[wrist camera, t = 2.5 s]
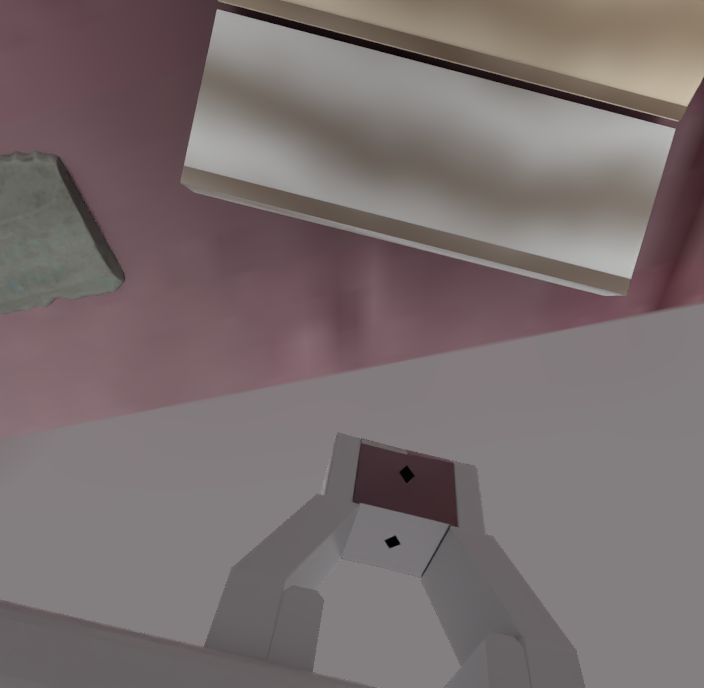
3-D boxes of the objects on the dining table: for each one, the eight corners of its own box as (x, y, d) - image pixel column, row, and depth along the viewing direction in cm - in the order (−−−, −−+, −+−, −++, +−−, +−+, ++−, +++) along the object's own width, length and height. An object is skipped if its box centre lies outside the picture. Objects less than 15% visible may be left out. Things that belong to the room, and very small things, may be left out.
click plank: (228, 33, 24) (216, 8, 22) (649, 142, 25) (676, 128, 23) (194, 192, 25) (180, 182, 23) (604, 295, 25) (626, 295, 23)
